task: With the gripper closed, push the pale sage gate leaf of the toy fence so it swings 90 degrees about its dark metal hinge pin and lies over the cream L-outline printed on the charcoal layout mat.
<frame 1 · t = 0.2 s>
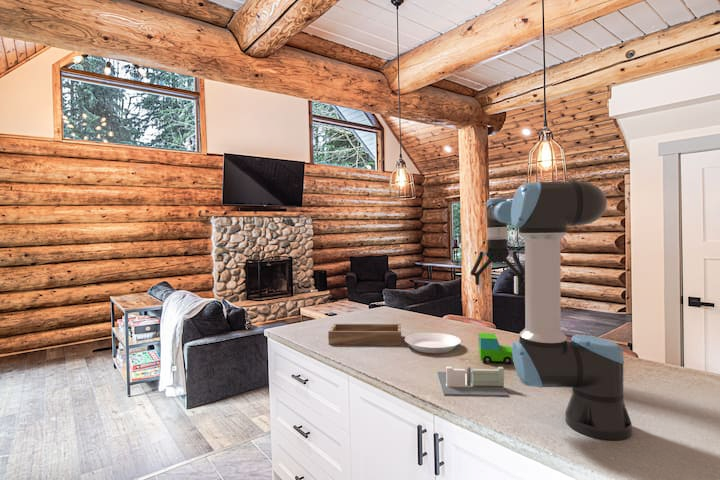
hand: (497, 293, 155), 28 cm above the worktop, fingers open, 13 cm apart
gate leaf: (487, 376, 133), point 4 cm above the worktop, hinge at 0.0°
white plate: (432, 348, 180), on the worktop
toy car: (497, 361, 160), on the worktop
layout mat: (470, 383, 136), on the worktop
wine bottle: (538, 374, 144), on the worktop
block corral: (366, 340, 194), on the worktop
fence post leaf: (468, 387, 133), resting on layout mat
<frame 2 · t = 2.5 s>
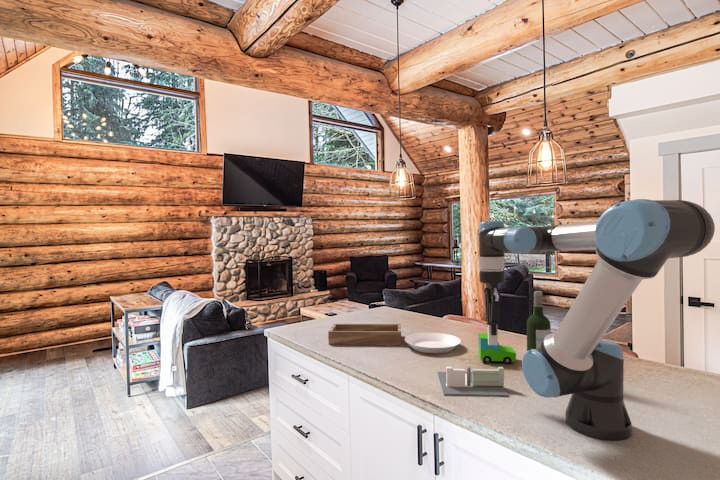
hand: (492, 344, 126), 16 cm above the worktop, fingers closed
nothing on the worktop moved.
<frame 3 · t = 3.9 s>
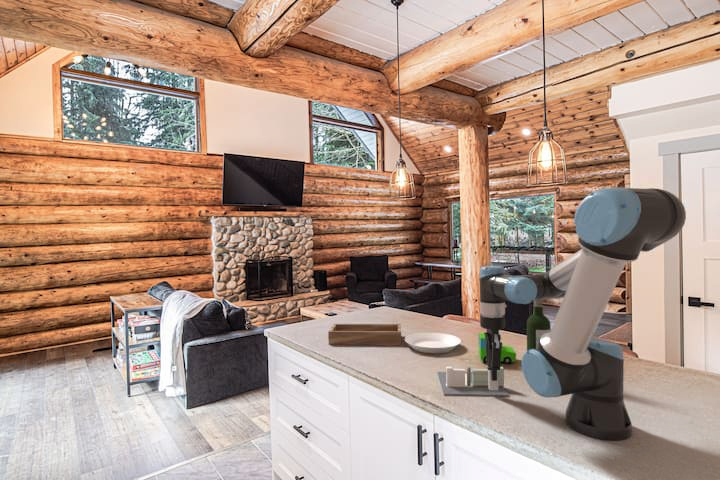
hand: (493, 389, 126), 2 cm above the worktop, fingers closed
nothing on the worktop moved.
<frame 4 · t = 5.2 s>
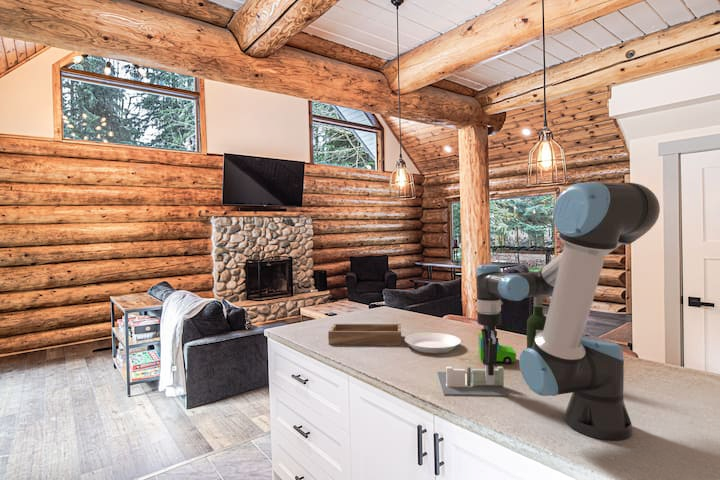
hand: (490, 383, 131), 2 cm above the worktop, fingers closed
gate leaf: (487, 375, 133), point 4 cm above the worktop, hinge at 2.3°, touching gripper
everything else where it was.
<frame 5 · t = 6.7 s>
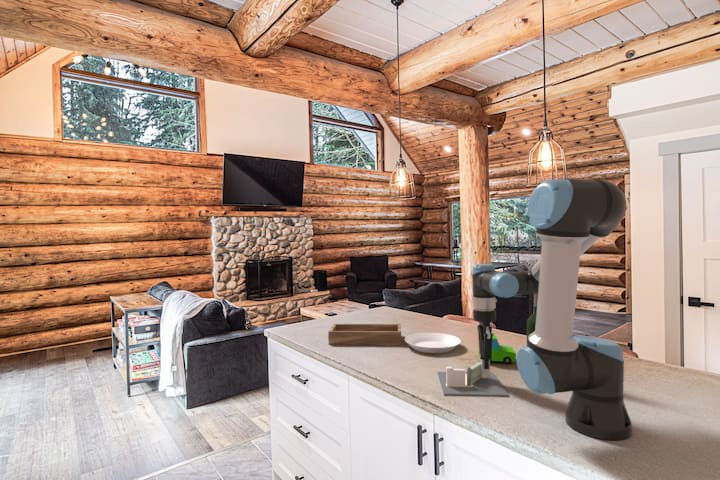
hand: (485, 377, 138), 2 cm above the worktop, fingers closed
gate leaf: (476, 370, 138), point 4 cm above the worktop, hinge at 54.6°, touching gripper
everything else where it was.
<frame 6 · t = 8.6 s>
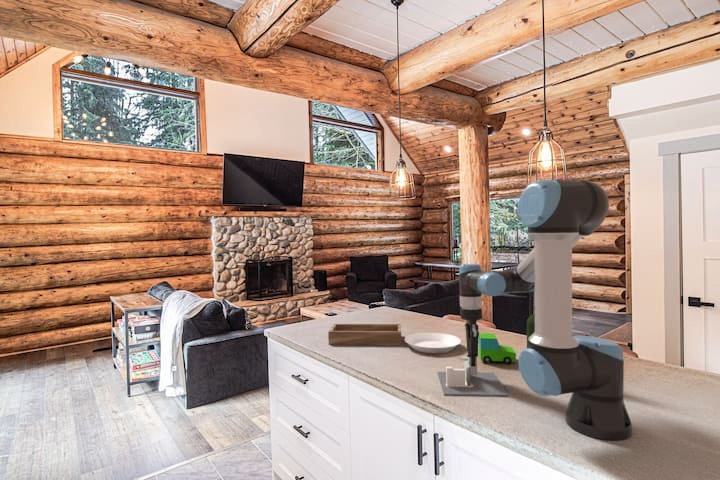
hand: (472, 374, 141), 2 cm above the worktop, fingers closed
gate leaf: (466, 369, 139), point 4 cm above the worktop, hinge at 86.5°, touching gripper
everything else where it was.
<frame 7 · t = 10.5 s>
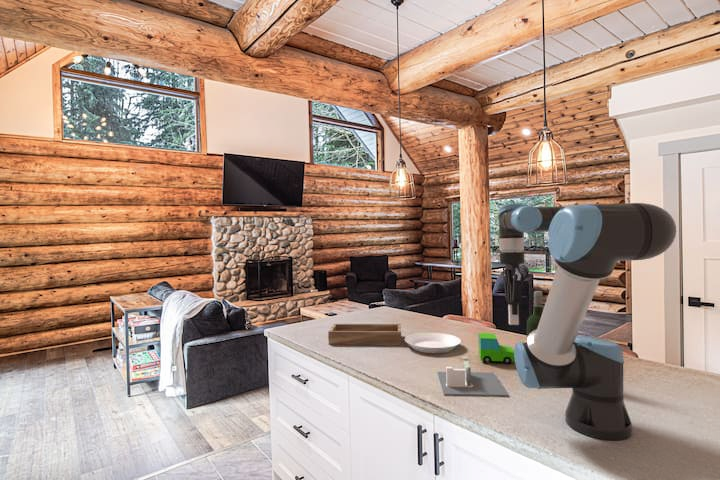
hand: (513, 324, 129), 22 cm above the worktop, fingers closed
gate leaf: (466, 369, 139), point 4 cm above the worktop, hinge at 86.5°
everything else where it was.
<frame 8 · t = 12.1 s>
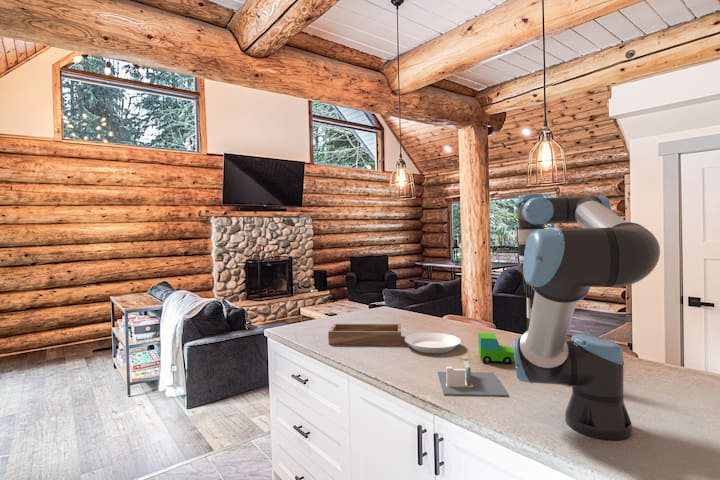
hand: (532, 317, 126), 24 cm above the worktop, fingers closed
nothing on the worktop moved.
at the end: gate leaf at +86° (first picture: +0°) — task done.
